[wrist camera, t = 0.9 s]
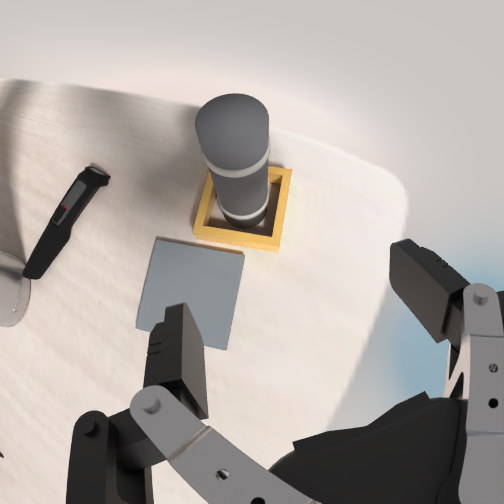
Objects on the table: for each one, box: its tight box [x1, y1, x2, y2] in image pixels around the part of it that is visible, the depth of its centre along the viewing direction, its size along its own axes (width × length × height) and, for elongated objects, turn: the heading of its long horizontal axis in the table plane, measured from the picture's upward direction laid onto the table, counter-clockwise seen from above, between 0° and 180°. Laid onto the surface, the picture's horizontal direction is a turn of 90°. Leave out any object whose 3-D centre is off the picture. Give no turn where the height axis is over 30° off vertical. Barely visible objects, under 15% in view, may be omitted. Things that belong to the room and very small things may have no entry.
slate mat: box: [136, 240, 245, 350], centre depth 29 cm, size 9×9×1 cm
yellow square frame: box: [193, 166, 292, 253], centre depth 30 cm, size 8×8×2 cm
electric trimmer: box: [22, 167, 110, 280], centre depth 30 cm, size 4×16×3 cm, turn 148°
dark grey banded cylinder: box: [195, 94, 270, 229], centre depth 24 cm, size 5×5×14 cm
